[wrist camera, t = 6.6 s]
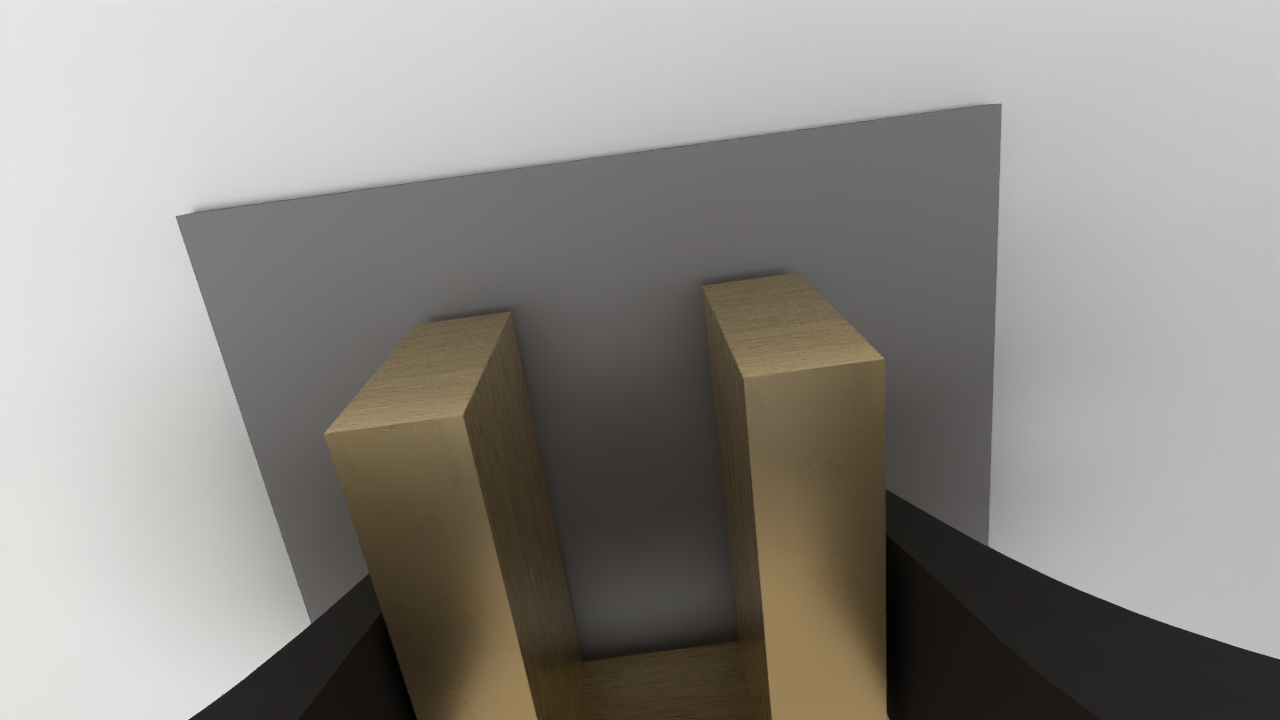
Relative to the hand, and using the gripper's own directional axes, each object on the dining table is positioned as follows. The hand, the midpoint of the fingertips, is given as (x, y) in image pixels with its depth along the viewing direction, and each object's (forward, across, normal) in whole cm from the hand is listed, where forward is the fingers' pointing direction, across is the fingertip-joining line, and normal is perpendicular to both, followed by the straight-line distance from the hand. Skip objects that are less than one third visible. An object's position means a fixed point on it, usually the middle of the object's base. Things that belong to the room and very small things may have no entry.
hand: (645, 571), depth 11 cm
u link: (+1, 0, 0) cm, 1 cm away
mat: (+2, 0, 0) cm, 2 cm away
